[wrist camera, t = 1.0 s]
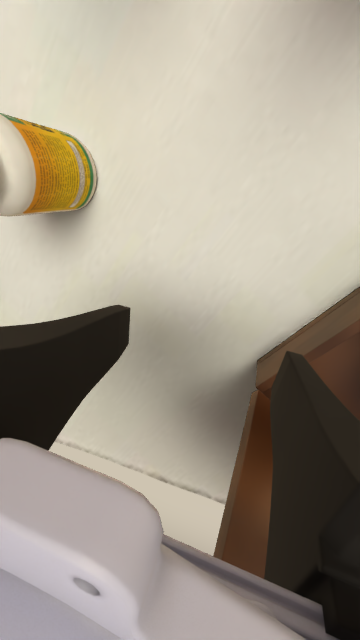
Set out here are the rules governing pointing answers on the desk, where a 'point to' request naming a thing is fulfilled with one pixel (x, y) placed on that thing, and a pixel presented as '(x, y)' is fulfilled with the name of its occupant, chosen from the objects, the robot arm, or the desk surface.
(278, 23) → the desk surface
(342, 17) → the desk surface
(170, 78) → the desk surface
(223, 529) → the lid
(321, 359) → the chest
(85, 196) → the supplement bottle
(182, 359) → the desk surface
